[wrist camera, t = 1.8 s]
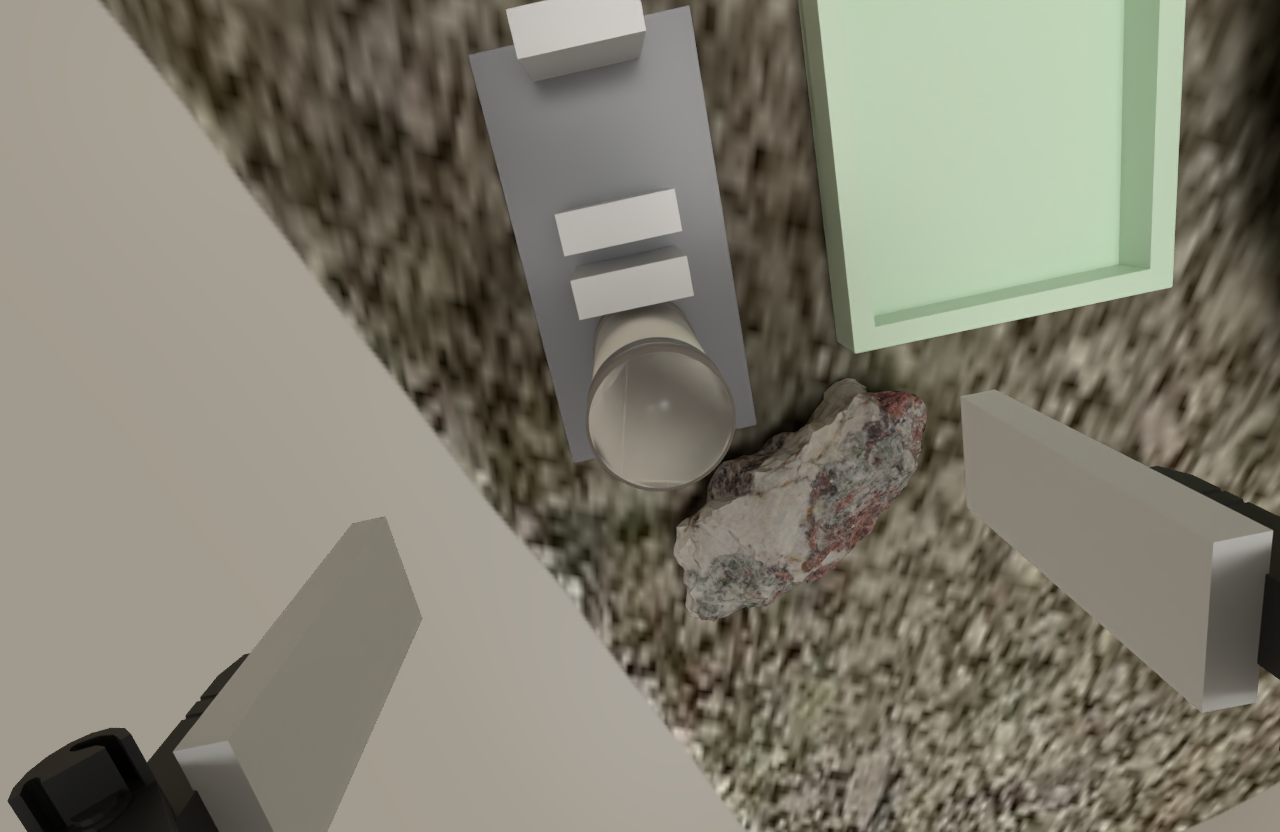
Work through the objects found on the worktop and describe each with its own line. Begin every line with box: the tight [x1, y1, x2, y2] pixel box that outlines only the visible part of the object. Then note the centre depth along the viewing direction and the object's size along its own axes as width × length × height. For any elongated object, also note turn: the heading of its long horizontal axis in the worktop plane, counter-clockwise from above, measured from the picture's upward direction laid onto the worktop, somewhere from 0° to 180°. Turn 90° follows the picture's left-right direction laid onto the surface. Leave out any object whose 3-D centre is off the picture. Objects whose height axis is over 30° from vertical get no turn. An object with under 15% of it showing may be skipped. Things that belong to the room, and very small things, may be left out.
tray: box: [798, 0, 1186, 354], centre depth 28 cm, size 16×14×2 cm
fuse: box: [585, 301, 736, 491], centre depth 26 cm, size 5×5×11 cm
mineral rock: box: [673, 378, 926, 622], centre depth 33 cm, size 15×8×4 cm, turn 126°
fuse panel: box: [468, 0, 757, 463], centre depth 28 cm, size 18×9×6 cm, turn 12°
